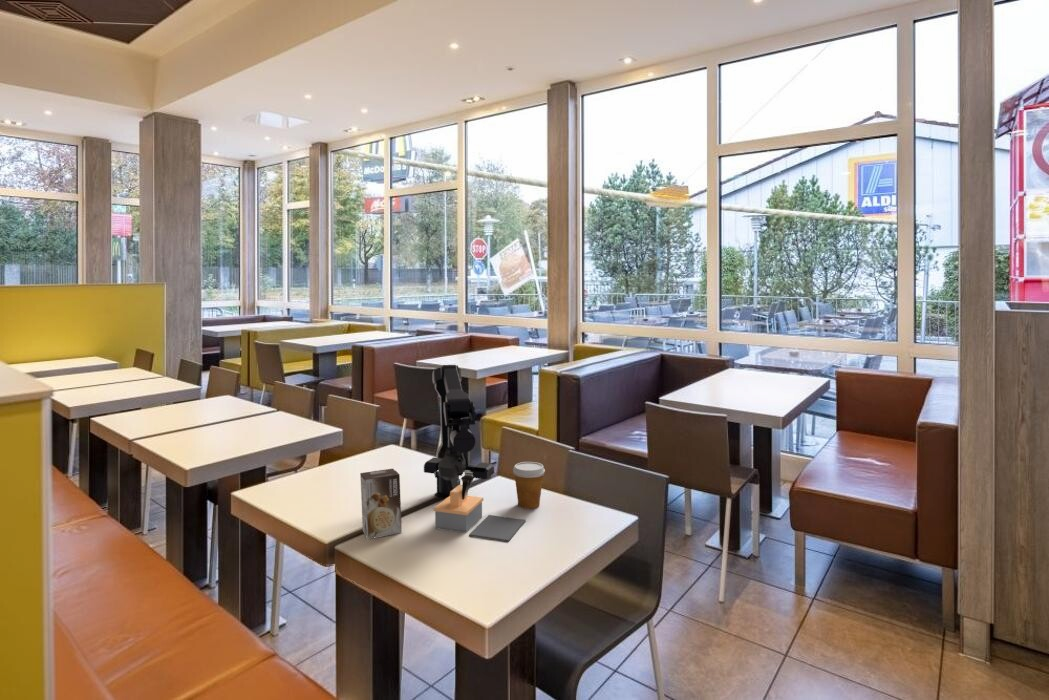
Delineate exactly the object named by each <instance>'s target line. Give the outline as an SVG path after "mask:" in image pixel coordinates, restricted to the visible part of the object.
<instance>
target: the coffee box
mask: <svg viewBox="0 0 1049 700" xmlns="http://www.w3.org/2000/svg"><path fill="white" fill-rule="evenodd" d="M400 477H401V476H400V473H399V472H397V470H395V469H394V468H388V469H386V468H385V469H380V470H373V471H366V472H360V493H361V495H360V496H361V518H362V519H361V520H362V521H361V522H362V533H364V535H365V537H366V536H367V537H366V538H367V539H368V538H372V539H375V538H374V537H377V538H380V536H382V537H386V536H391V535H395V534H401V533H403V532H402V529H403V528H402V503H401V499H402V498H401V480H400V479H401V478H400Z"/></svg>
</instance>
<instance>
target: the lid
mask: <svg viewBox="0 0 1049 700" xmlns="http://www.w3.org/2000/svg"><path fill="white" fill-rule="evenodd" d="M481 502H482V503H483V502H484V497H481V496H473V495H469V494H468V493H467V495H466V498H465V499H464V500H463V499H462V484H460V485H458V486H457V487H456V488H454V489H453V490H452V491H450V496H449V497H445V499H444V500H442V501H441V502H440V503H438V504H437V505H436V506H435V507H434V508H433V512H435V511H438V512H445V513H452V514H460V515H468V514H469V513H470V512H471V511H472V510H473V509H474V508H475V507H477V506H478V505H479V504H480V503H481Z"/></svg>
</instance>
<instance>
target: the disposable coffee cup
mask: <svg viewBox="0 0 1049 700" xmlns="http://www.w3.org/2000/svg"><path fill="white" fill-rule="evenodd" d="M512 472H513V474H514V480H515V487H516V489H515V490H516V496H517V502H518V503H517V504H518V507H519V508H521V509H525V510H533V509H537V508H539V507H540V503H541V494H542V489H543V488H542V487H543V481H544V475H545V472H546V470H545V468H544V465H543V463H540V462H535V461H521V462H518V463H516V464H515V465H514V467H513V469H512Z"/></svg>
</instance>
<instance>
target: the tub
mask: <svg viewBox="0 0 1049 700" xmlns="http://www.w3.org/2000/svg"><path fill="white" fill-rule="evenodd" d="M434 514H435V515H434V516H435V517H434V518H435V522H434V523H435V525H434V526H435V527H434V528H435V529H436V530H437V529H438V530H443V531H450V532H457V533H465V534H467V533H469V531H470V530H471V529H472V528H473V527H474V526H475V525H476V524H477V523H478V522H480V520H482V518H483V501H482V502H481V503H480V504H479V505H478V506H477V507H475V508H474V509H473V510H472V511H471V512H470V513H469V514H468V515H460V514H452V513H445V512H438V511H434Z"/></svg>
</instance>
